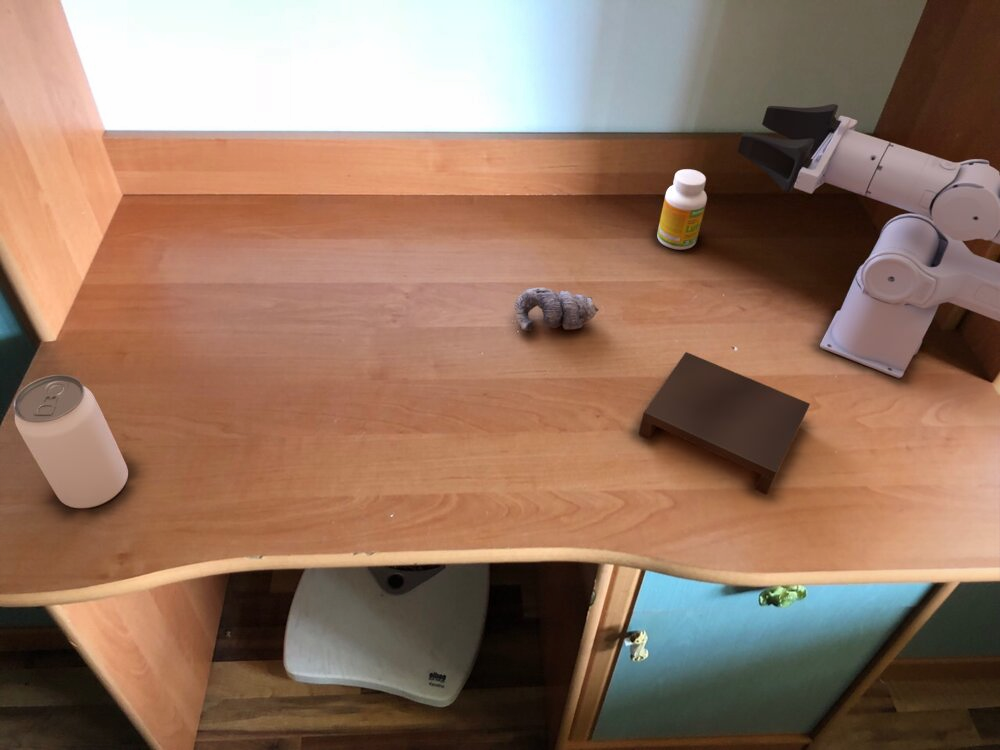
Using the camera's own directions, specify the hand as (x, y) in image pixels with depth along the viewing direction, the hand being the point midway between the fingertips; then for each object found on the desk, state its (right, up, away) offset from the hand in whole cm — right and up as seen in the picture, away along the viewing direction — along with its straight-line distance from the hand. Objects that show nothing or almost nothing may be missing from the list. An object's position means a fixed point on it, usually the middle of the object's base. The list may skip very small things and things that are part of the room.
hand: (753, 128), depth 87 cm
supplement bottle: (-4, -9, +22) cm, 24 cm away
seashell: (-21, -21, +9) cm, 31 cm away
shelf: (-4, -33, -3) cm, 33 cm away
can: (-67, -38, -11) cm, 78 cm away
